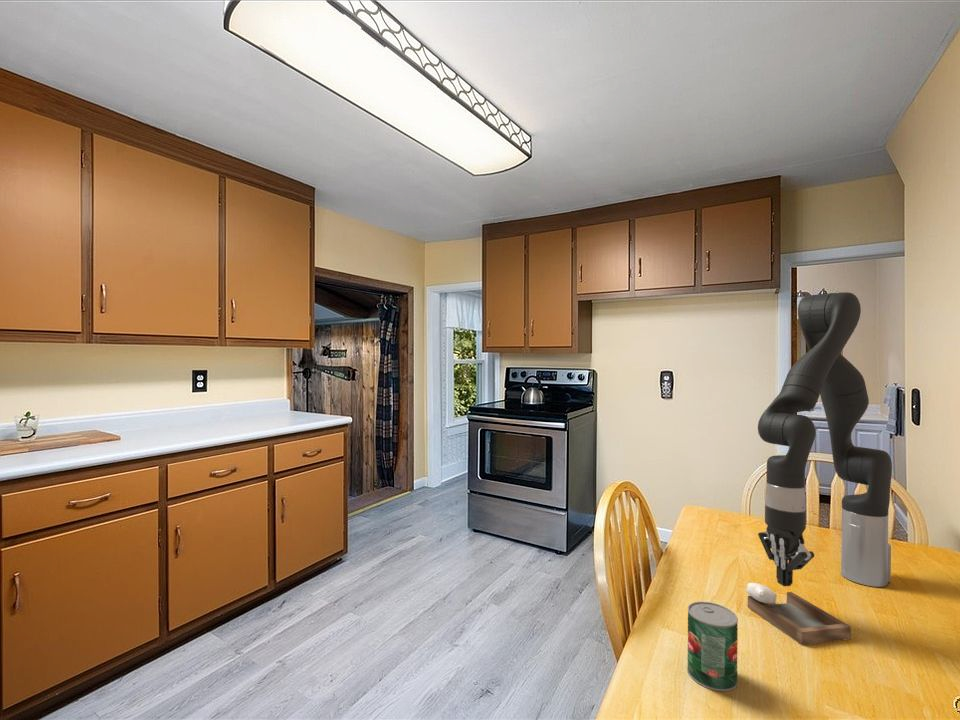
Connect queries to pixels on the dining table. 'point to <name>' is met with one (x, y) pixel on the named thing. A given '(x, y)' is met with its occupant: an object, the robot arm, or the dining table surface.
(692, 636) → the canned tomato
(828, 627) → the u rest
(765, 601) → the eye dropper bottle
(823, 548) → the dining table surface
